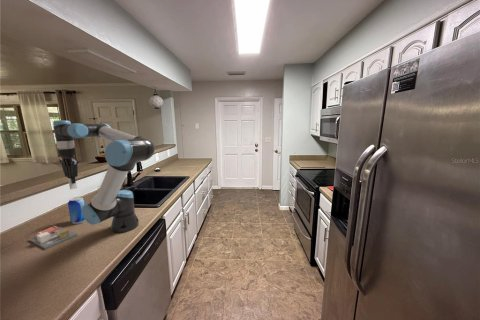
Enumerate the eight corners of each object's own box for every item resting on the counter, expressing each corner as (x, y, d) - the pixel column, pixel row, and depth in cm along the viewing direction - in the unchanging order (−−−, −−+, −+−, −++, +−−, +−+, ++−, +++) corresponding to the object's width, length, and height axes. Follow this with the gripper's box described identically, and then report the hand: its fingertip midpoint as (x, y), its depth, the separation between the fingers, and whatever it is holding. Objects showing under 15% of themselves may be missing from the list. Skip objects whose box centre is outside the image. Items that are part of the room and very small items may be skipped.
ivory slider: (51, 239, 108) (50, 233, 107) (41, 243, 104) (40, 237, 104) (47, 237, 110) (46, 231, 109) (37, 241, 106) (36, 235, 105)
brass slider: (69, 235, 111) (68, 230, 111) (60, 239, 108) (59, 233, 107) (65, 234, 113) (64, 228, 112) (57, 237, 109) (56, 231, 109)
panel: (77, 235, 113) (76, 232, 113) (45, 249, 101) (44, 245, 101) (60, 228, 121) (60, 225, 121) (29, 240, 108) (28, 236, 108)
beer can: (90, 218, 134) (87, 196, 131) (79, 225, 125) (75, 201, 122) (79, 218, 134) (75, 195, 131) (67, 224, 126) (63, 200, 123)
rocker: (59, 229, 115) (58, 227, 115) (41, 237, 108) (41, 235, 108) (55, 227, 117) (54, 225, 117) (37, 234, 110) (36, 233, 110)
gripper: (81, 147, 112) (87, 187, 116) (67, 147, 117) (73, 185, 121) (65, 149, 105) (72, 191, 109) (51, 148, 110) (59, 189, 114)
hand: (73, 188), depth 115 cm, fingers closed
